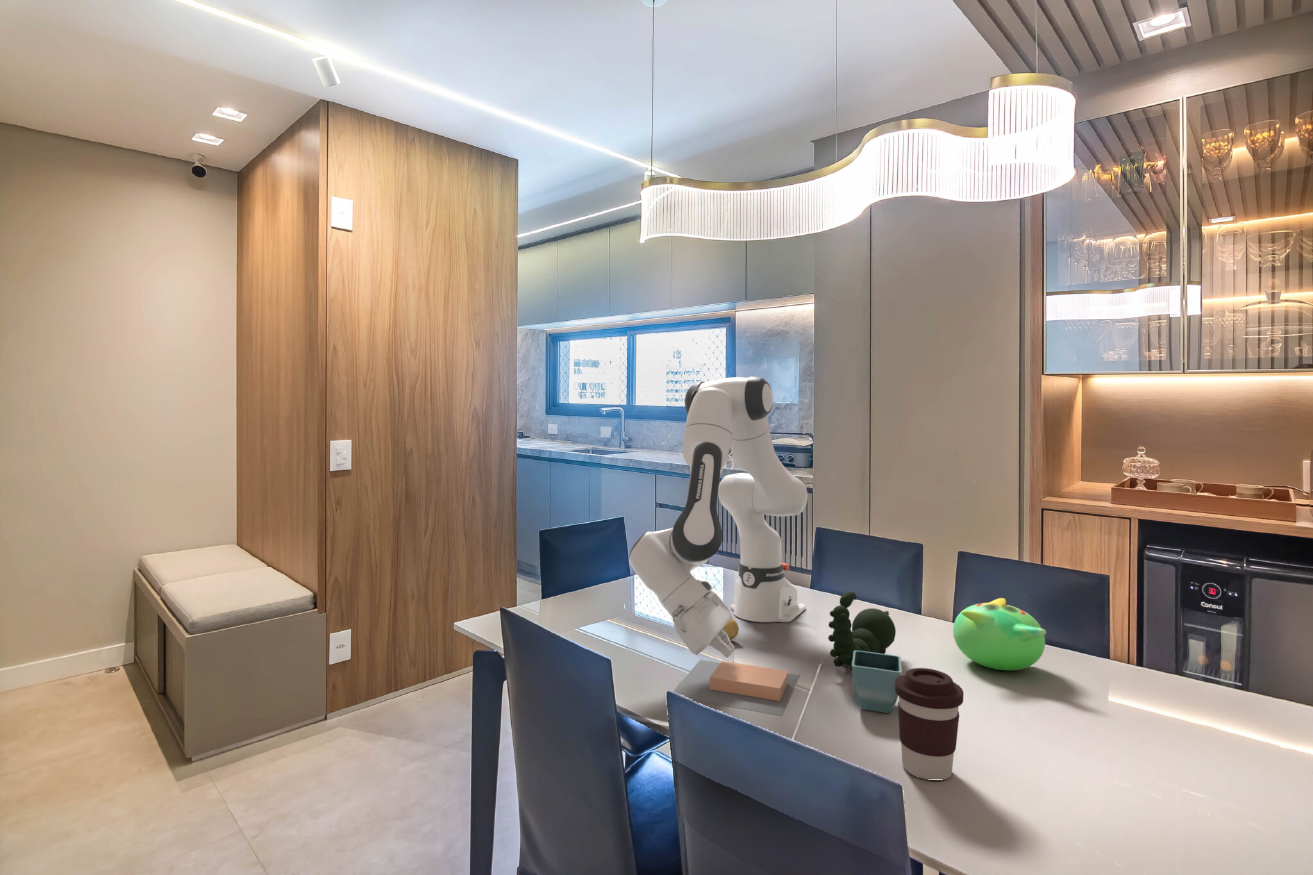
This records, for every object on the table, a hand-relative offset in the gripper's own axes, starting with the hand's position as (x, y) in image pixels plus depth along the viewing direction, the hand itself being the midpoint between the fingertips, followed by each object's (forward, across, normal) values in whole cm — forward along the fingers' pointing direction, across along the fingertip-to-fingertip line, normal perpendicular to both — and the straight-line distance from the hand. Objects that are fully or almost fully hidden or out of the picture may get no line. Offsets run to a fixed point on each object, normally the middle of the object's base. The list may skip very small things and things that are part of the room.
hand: (731, 653), depth 133 cm
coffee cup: (+31, -18, -21) cm, 42 cm away
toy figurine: (+22, +24, -12) cm, 34 cm away
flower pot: (+25, +2, -15) cm, 29 cm away
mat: (+6, 0, +4) cm, 7 cm away
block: (+1, 0, +6) cm, 6 cm away
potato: (-2, +25, +12) cm, 28 cm away
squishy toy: (+42, +32, -32) cm, 62 cm away
